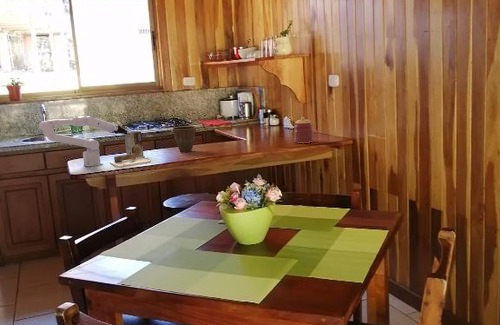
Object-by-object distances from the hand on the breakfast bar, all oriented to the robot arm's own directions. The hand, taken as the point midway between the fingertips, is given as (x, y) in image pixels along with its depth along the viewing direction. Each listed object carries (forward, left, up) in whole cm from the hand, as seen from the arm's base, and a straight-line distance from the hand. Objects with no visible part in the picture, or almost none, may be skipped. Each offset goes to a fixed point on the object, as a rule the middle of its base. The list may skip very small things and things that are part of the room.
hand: (125, 132), depth 320 cm
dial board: (-3, -12, -17) cm, 21 cm away
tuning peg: (-4, -8, -16) cm, 18 cm away
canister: (+112, -37, -18) cm, 119 cm away
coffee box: (+7, +6, -18) cm, 20 cm away
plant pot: (+39, -3, -18) cm, 43 cm away
